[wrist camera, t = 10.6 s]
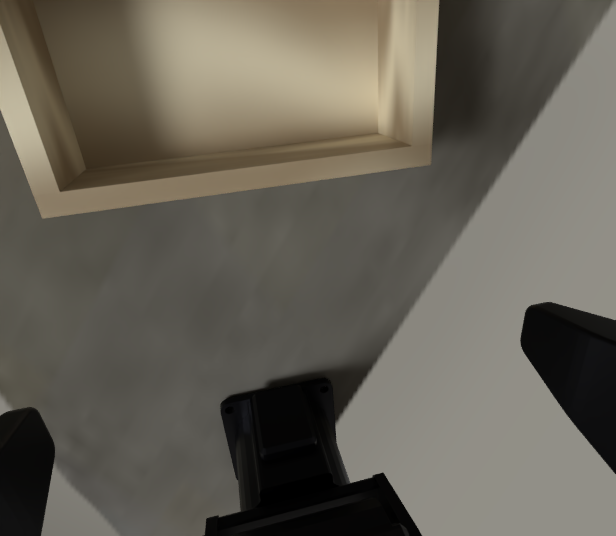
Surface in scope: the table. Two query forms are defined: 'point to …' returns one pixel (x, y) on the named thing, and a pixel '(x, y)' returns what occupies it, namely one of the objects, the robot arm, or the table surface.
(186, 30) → the walled box
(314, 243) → the table surface
